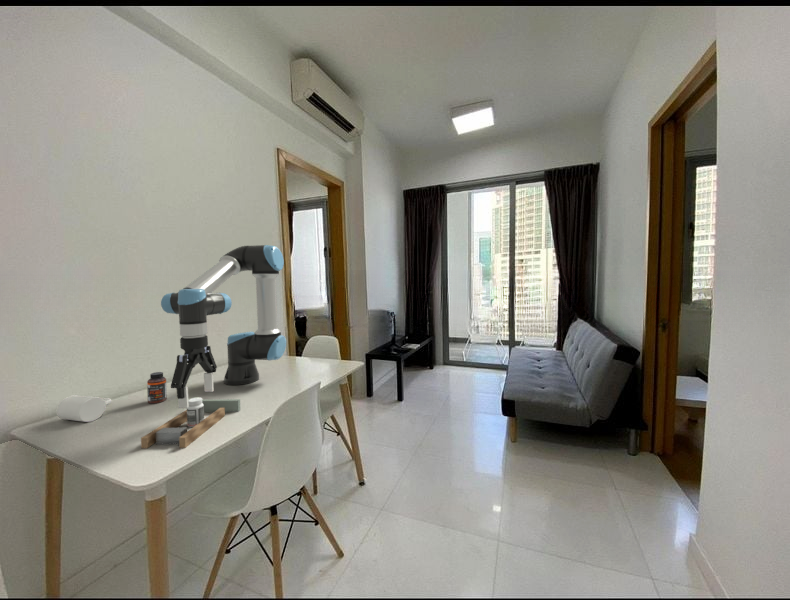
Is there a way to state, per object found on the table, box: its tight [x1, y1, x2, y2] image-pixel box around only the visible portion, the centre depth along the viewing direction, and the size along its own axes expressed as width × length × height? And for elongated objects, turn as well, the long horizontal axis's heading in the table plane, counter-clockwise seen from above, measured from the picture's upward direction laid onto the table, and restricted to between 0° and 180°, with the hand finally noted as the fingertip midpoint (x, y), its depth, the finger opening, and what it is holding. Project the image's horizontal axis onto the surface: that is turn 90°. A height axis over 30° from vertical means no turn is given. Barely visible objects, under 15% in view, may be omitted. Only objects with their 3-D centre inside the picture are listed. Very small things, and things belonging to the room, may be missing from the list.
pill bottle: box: [186, 396, 205, 428], centre depth 100 cm, size 5×5×8 cm
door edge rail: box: [202, 398, 241, 413], centre depth 111 cm, size 2×18×4 cm, turn 92°
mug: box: [55, 394, 113, 423], centre depth 106 cm, size 12×10×8 cm
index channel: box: [140, 408, 226, 449], centre depth 96 cm, size 21×12×3 cm, turn 2°
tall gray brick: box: [155, 427, 188, 445], centre depth 89 cm, size 3×7×4 cm, turn 92°
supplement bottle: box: [146, 371, 168, 405], centre depth 120 cm, size 6×6×11 cm
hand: (197, 398), depth 101 cm, fingers open, 13 cm apart
